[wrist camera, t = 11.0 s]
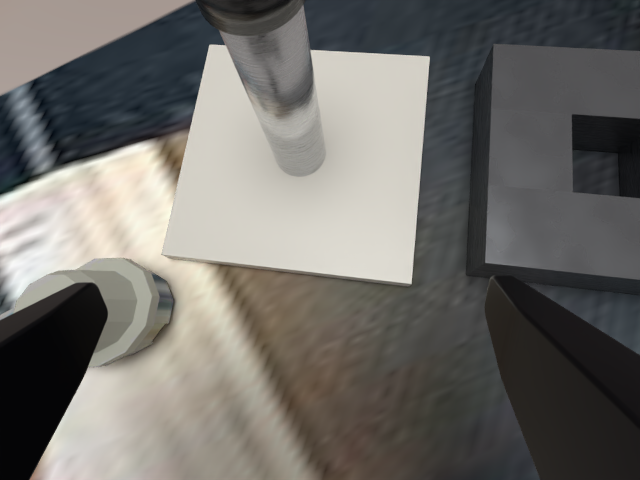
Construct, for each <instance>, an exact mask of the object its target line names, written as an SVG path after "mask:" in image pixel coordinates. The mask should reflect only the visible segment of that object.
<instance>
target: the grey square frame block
mask: <svg viewBox="0 0 640 480" xmlns="http://www.w3.org/2000/svg"><path fill="white" fill-rule="evenodd" d="M572 149H578V150H591V151H604V152H616V153H618V154H619V177H620V197H619V196H608V195H597V194H585V193H574V192H573V169H572ZM466 275H469V276H477V277H486V278H491V277H492V276H493V275H512V276H514V277H516V278H517V279H519V280H520V281H522V282H530V283H539V284H548V285H556V286H565V287H574V288H583V289H591V290H600V291H609V292H618V293H627V294H635V295H640V51H624V50H604V49H584V48H564V47H544V46H524V45H504V44H493V46H492V49H491V51H490V53H489V55H488V57H487V60H486V62H485V64H484V66H483V68H482V71H481V73H480V75H479V77H478V79H477V82H476V84H475V102H474V122H473V142H472V163H471V183H470V204H469V224H468V244H467V265H466Z"/></svg>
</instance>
